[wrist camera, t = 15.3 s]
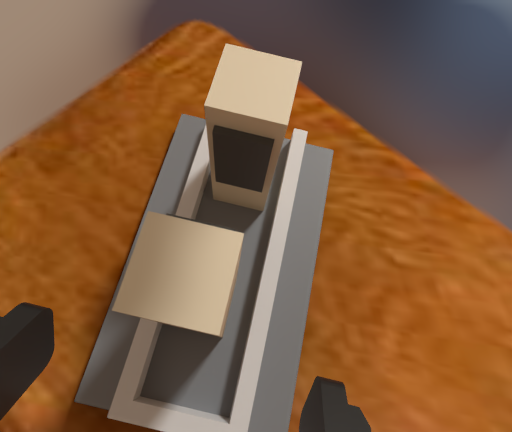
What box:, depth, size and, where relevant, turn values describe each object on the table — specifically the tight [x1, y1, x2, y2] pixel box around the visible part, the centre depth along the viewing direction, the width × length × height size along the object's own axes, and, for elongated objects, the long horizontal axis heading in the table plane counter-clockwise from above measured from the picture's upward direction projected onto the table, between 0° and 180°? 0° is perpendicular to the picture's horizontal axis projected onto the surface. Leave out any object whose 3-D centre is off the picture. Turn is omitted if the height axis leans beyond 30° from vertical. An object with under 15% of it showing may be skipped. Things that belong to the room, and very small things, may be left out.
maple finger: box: [112, 211, 244, 338], centre depth 16 cm, size 4×4×10 cm
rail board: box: [74, 44, 334, 432], centre depth 18 cm, size 12×20×11 cm, turn 167°
